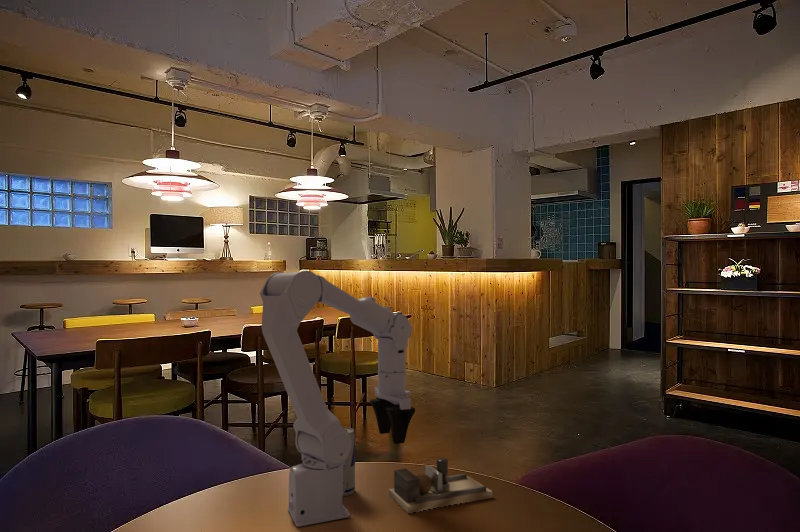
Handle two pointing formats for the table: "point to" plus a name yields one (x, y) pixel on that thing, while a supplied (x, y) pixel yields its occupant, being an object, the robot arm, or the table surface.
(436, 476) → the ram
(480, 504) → the table surface
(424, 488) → the walnut
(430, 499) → the press base
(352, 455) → the energy drink
